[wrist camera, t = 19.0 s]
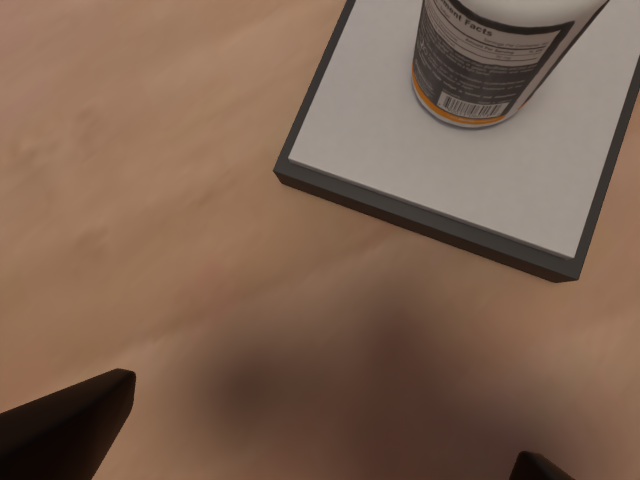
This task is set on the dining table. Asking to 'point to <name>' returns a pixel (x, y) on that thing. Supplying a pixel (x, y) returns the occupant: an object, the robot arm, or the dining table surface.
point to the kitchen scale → (467, 142)
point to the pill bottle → (492, 53)
